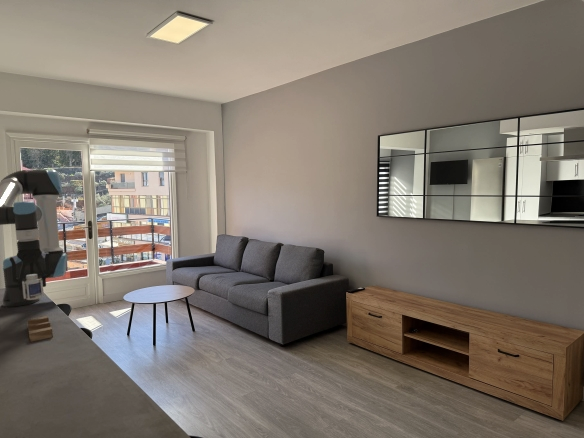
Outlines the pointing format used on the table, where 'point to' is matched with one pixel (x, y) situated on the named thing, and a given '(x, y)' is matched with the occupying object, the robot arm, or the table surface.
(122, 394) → the table surface
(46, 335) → the brown wooden rack
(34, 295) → the pill bottle
